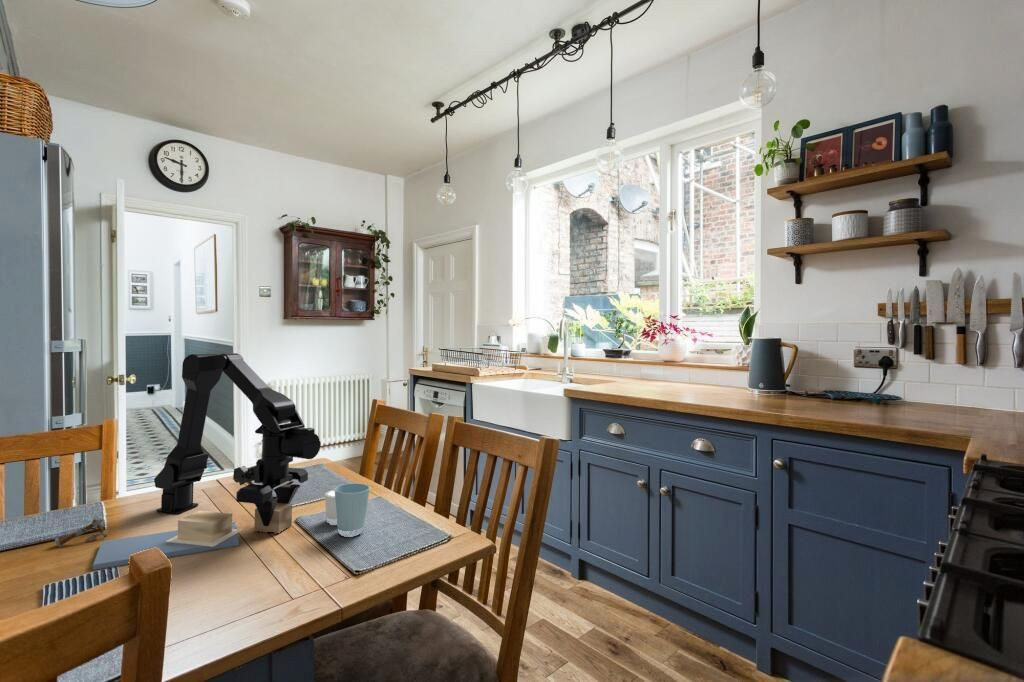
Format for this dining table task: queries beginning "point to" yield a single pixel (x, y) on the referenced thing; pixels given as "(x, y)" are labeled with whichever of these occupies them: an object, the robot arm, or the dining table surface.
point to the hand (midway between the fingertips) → (273, 521)
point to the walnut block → (275, 519)
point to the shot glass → (330, 504)
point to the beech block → (204, 526)
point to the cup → (351, 505)
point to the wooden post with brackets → (82, 530)
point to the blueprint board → (167, 542)
